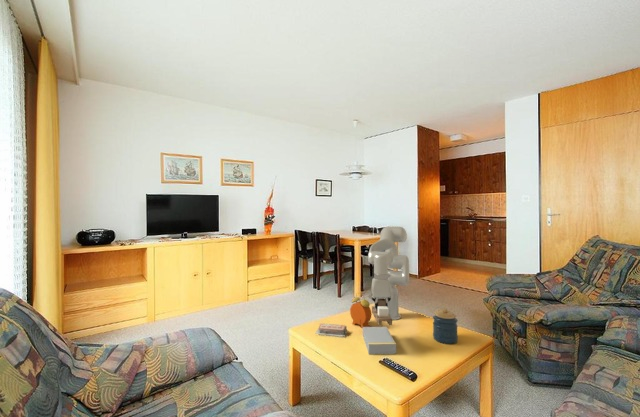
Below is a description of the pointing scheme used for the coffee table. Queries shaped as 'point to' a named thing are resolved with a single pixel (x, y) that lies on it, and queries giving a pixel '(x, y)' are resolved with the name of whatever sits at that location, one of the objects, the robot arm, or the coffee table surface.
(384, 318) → the brown open frame
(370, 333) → the dock
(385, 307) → the block
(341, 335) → the packaged product
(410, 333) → the coffee table surface
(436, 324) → the canister
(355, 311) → the alarm clock
